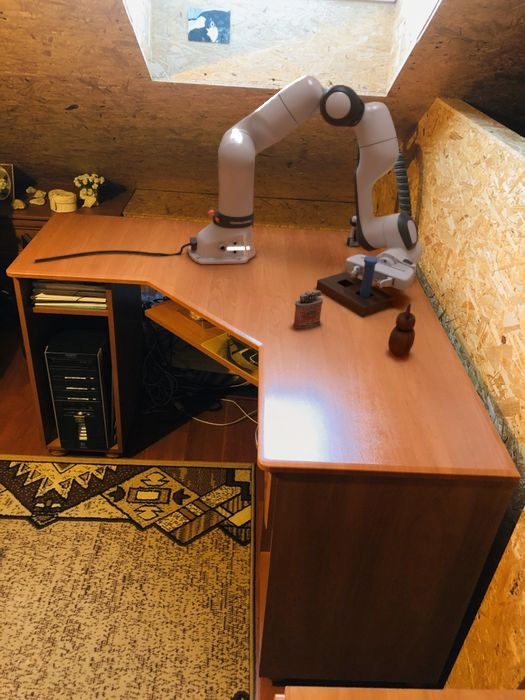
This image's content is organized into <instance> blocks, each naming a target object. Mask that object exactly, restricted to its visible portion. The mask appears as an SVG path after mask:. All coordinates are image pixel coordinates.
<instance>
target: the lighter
mask: <svg viewBox="0 0 525 700" xmlns="http://www.w3.org/2000/svg"><path fill="white" fill-rule="evenodd" d="M321 296H322V292H321V291H320V290H313V291H308V290H307V291H305V293H300V294H299V299H298V300H295V302H294V306H295V307H294V308H295V309H294V319H293V324H292V328H293V330H295V331H303V330H309V329H313V328H316V327H318V326H321V315H322V308H323V307H322V306H323V303H324V299H323V298H322V297H321Z"/></svg>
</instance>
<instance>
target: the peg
mask: <svg viewBox="0 0 525 700" xmlns="http://www.w3.org/2000/svg"><path fill="white" fill-rule="evenodd" d="M377 262H378V259H377V258H376V256H372V255H366V257H364V263H365V265H364V271H363V276H361V277H362V278H361V280H362V283H361V289H360V295H359V296H361V297H363V298H364V299H365V298H368V297H370V293H371V287H372V286H373V281H374V280H373V276H374V270H375V265H376V264H377Z"/></svg>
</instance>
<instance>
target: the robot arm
mask: <svg viewBox="0 0 525 700" xmlns="http://www.w3.org/2000/svg"><path fill="white" fill-rule="evenodd" d="M314 116H321V117H322V119H323V120H324V122H326V124H328V125H330V126H331V127H334V128H344V127H345V128H346V127H348V128H351V129H352V131H354V133H355V137H356V140H357V145H358V150H359V161H358V166H357V167H356V168H355V170H354V175H353V184H354V185H353V188H354V190H353V191H354V204H355V216H356V240H357V242H358V244H359V245H358V246H360V247H361V248H362V249H363V250H365V251H366V252H373V251H377V250H381V249H386V250H384V251H382V252H381V253H379V254H377V255H375V257H376V258H377V259H378V262H377V264H376V265H375V270H374V276H373V281H374V282H376V285H375V287H376V288H378V289H382V288H386V287H391V288H392V289H393V288H394V289H397V290H399V291H407V290H409V289H410V288H411V286H412V285H414V281H415V278H416V274H417V264H418V263H419V262H420V260H421V258H422V256H423V247H422V245H421V243H420V242H419V232H418V227H417V224H416V222H415V220H414V219H413V218H412V217H411V216H410V215H409V214H408V213H406V212H399V213H391V214H388V215H383V216H382V215H381V216H377V217H376V216H375V215H374V208H373V187H374V185H375V183H376V182H377V181H378V180H379V179H381V178H382V177H383V176H385V175H386V174H388V173H389V172H390V171H391V170H393V168H394V166H396V164H397V162H398V160H399V158H400V157H399V156H400V148H399V147H400V146H399V141H398V137H397V132H396V127H395V124H394V120H393V118H392V115H391V112H390V110H389V108H388V106H387V105H386V104H385V103H383V102H381V101H370V102H364V101H363V99H361V98H360V96H359V95H358V92H356V91H355V90H354V89H353V88H352V87H350V86H348V85H344V84H336V85H332V86H330V87H329V88H326V87H325V86H323V85H322V83H321V82H320V80H319V79H318V78H316V77H315V76H313V75H309V74H308V75H303V76H301V77H299V78H297V79H296V80H294V81H293V82H290V83H289V84H288V85H286V86H285V87H283V88H282V89H280V90H279V91H278V92H277V93H276V94H275V95H273V96H272V97H270V98H269V99H268V100H267V101H266V102H264V104H262V105H261V106H259V107H258V108H257V109H256V110H255V111H253V112H251V113H250V114H248V115H247V116H245V117H244V118H242V119H241V120H240V121H238V122H237V123H235V124H234V125H233V126H231V127H230V128H229V129H228V130H226V132H225V133H224V134H223V136H222V138H221V140H220V144H219V146H218V150H217V174H218V175H217V176H218V209H217V210H216V211H215V210H213V209H210V210H208V213H207V214H208V216H209V218H212V221H211V222H210V223H209V224H208V225H207V226H205V227H204V228H202V229H201V230H200V231H199V232H197V234H196V235H195V236H194V237H189V242H188V243H185V244H183V245H182V246H181V247H180V250H179V251H178V252H176V253H163V252H148V251H140V250H125V249H124V250H122V249H121V250H119V249H113V250H111V249H110V250H94V251H83V252H76V253H71V254H65V255H58V256H57V255H56V256H51V257H44V258H43V257H42V258H36V259H34V262H35V263H38V262H45V261H52V260H59V259H64V258H71V257H79V256H86V255H93V254H94V255H95V254H108V253H109V254H112V253H113V254H115V253H117V254H118V253H119V254H121V253H122V254H124V253H125V254H138V255H140V254H141V255H147V256H162V257H171V256H179V255H181V254H182V253H183V250H184V249H185V248H186V247H188V249H187V254H188V256H189V257H190V259H191V260H192V261H194V262H195V263H197V264H199V265H227V264H228V265H229V264H230V265H232V264H233V265H234V264H246V263H248V261H249V260H251V258H253V257H255V256H256V254H257V253H256V248H255V242H254V225H255V211H254V196H255V195H254V194H255V193H254V192H255V163H256V156H257V155H258V154H259V153H261V152H263V151H265V150H266V149H268V148H269V147H271V146H273V145H275V144H277V143H279V142H281V141H282V140H283V139H284V138H286V137H287V136H288V135H290V134H291V133H292V132H294V131H295V130H296V129H297V128H298V127H300V126H301V125H303V124H304V123H306V121H307V120H309V119H311V118H312V117H314ZM366 256H367V255H366V254H362V253H359V254H355V255H352V256H349V257H347V258H346V260H345V265H344V269H345V271H347V272H348V273H350V274H351V277H352V278H357V277H358V278H359V276H360V277H363V271H364V265H365V263H364V257H366Z"/></svg>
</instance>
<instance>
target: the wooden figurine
mask: <svg viewBox="0 0 525 700" xmlns="http://www.w3.org/2000/svg"><path fill="white" fill-rule="evenodd" d="M411 309H412V304H411V302H409V303H408V305H407V306H406V309H405V311H401V312H399V313H398V314H397V316H396V319H395V326H394V327H393V328H392V329H391V331H390V334H389V338H388V343H387V345H388V350H389V352H390V354H392V355H393V356H395V357H398V358H403V357H405V356H407V355H409V353H410V351H411V350H412V348H413V345H414V343H415V338H416V330H415V329H414V328H415V325H416V323H417V322H416V316H415V314H414V313H412V312H411Z"/></svg>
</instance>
